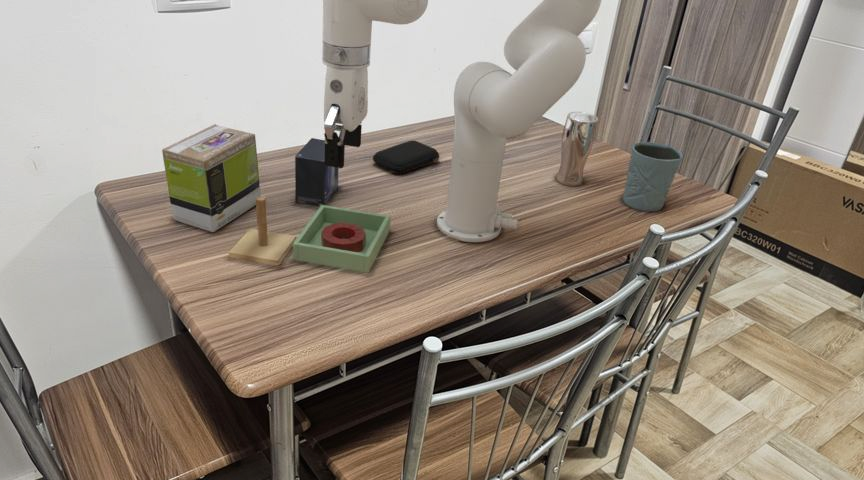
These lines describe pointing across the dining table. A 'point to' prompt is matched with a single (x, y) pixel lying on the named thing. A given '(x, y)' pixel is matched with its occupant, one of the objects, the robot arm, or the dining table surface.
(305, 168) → the small box
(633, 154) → the grey-green embossed cup
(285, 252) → the peg stand
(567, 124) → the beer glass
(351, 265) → the bin
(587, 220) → the dining table surface
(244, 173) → the tea box
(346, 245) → the ring
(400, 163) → the carrying case
